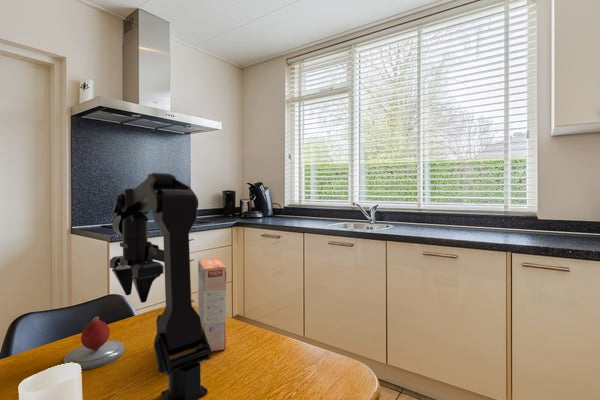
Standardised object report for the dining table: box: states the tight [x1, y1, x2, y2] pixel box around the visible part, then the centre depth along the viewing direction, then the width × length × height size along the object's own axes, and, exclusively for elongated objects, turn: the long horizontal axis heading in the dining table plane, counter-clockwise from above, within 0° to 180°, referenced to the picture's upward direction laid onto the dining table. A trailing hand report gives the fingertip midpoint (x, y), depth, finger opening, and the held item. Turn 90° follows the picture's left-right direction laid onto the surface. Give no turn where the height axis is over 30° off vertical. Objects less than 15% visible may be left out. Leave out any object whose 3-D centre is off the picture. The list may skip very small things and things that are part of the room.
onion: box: [80, 316, 111, 351], centre depth 76 cm, size 6×6×8 cm
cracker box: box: [197, 257, 227, 353], centre depth 85 cm, size 14×6×21 cm, turn 22°
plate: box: [63, 339, 125, 371], centre depth 76 cm, size 12×12×2 cm
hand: (135, 298), depth 82 cm, fingers open, 9 cm apart
